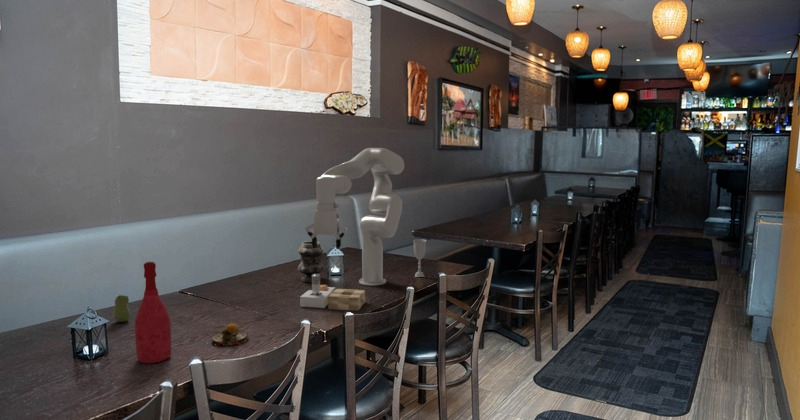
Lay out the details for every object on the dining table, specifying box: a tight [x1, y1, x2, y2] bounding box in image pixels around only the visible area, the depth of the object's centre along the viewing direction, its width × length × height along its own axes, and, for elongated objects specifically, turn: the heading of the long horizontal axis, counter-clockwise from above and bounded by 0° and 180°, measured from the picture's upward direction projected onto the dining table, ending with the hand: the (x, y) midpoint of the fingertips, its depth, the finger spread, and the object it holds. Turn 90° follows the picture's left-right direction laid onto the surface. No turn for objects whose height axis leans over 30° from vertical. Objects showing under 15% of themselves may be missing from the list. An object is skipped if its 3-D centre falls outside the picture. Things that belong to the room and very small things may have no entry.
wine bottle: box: [134, 261, 172, 364], centre depth 168 cm, size 10×10×30 cm
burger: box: [210, 321, 249, 347], centre depth 186 cm, size 12×12×8 cm
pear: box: [112, 294, 132, 323], centre depth 203 cm, size 6×5×10 cm
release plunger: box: [320, 284, 328, 291], centre depth 236 cm, size 4×4×3 cm
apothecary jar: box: [297, 240, 324, 283], centre depth 265 cm, size 12×12×18 cm
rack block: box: [327, 288, 366, 312], centre depth 225 cm, size 12×12×5 cm
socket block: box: [299, 286, 336, 309], centre depth 231 cm, size 18×10×4 cm, turn 170°
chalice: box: [412, 238, 427, 278], centre depth 271 cm, size 7×7×18 cm
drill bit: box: [311, 273, 321, 296], centre depth 227 cm, size 3×3×12 cm
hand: (326, 248), depth 230 cm, fingers open, 9 cm apart
